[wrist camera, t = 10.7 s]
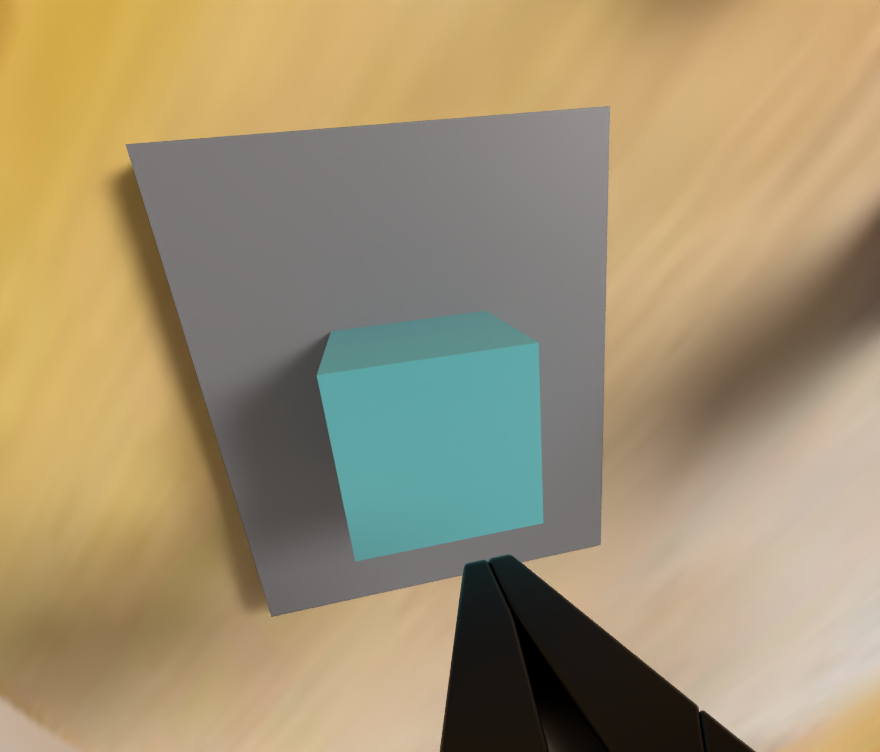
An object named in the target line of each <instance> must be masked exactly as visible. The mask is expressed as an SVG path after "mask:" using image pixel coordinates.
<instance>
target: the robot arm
mask: <svg viewBox="0 0 880 752" xmlns="http://www.w3.org/2000/svg"><path fill="white" fill-rule="evenodd" d="M440 752H755V751H754V750H753V749H752V748H750V747H749V746H748V745H746V744H745V743H744V742H743V741H741V740H740V739H739V738H737V737H736V736H735V735H734V734H732V733H731V732H730V731H729V730H727V729H726V728H725V727H724V726H723V725H721V724H720V723H719V722H718V721H716V720H715V719H714V718H713V717H711V716H710V715H709V714H708V713H706V712H705V711H703V710H702V711H700V712H699V708H698V706H697V705H696V704H695V703H694V702H693V701H691V700H690V699H689V698H688V697H686V696H685V695H684V694H683V693H681V692H680V691H679V690H678V689H677V688H675V687H674V686H673V685H672V684H670V683H669V682H668V681H667V680H665V679H664V678H663V677H662V676H660V675H659V674H658V673H657V672H656V671H654V670H653V669H652V668H651V667H649V666H648V665H647V664H646V663H644V662H643V661H642V660H641V659H640V658H638V657H637V656H636V655H635V654H633V653H632V652H631V651H630V650H628V649H627V648H626V647H625V646H623V645H622V644H621V643H620V642H619V641H617V640H616V639H615V638H614V637H612V636H611V635H610V634H609V633H607V632H606V631H605V630H604V629H602V628H601V627H600V626H599V625H598V624H596V623H595V622H594V621H593V620H591V619H590V618H589V617H588V616H586V615H585V614H584V613H583V612H582V611H580V610H579V609H578V608H577V607H575V606H574V605H573V604H572V603H570V602H569V601H568V600H567V599H565V598H564V597H563V596H562V595H561V594H559V593H558V592H557V591H556V590H554V589H553V588H552V587H551V586H549V585H548V584H547V583H546V582H545V581H543V580H542V579H541V578H540V577H538V576H537V575H536V574H535V573H533V572H532V571H531V570H530V569H528V568H527V567H526V566H525V565H524V564H522V563H521V562H520V561H519V560H517V559H516V558H515V557H514V556H512V555H509V554H507V555H502V556H498V557H493V558H490V559H489V560H488V562H487V561H486V560H479V561H474V562H470V563H466V564H465V565H464V569H463V576H462V584H461V592H460V599H459V607H458V615H457V622H456V630H455V638H454V646H453V653H452V661H451V669H450V676H449V684H448V692H447V700H446V707H445V715H444V723H443V730H442V738H441V746H440Z"/></svg>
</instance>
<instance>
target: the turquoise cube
mask: <svg viewBox="0 0 880 752" xmlns="http://www.w3.org/2000/svg"><path fill="white" fill-rule="evenodd" d="M317 379H318V384H319V389H320V394H321V398H322V403H323V408H324V413H325V418H326V423H327V427H328V432H329V437H330V442H331V447H332V452H333V456H334V461H335V466H336V471H337V476H338V481H339V485H340V490H341V495H342V500H343V505H344V510H345V514H346V519H347V524H348V529H349V534H350V539H351V543H352V548H353V553H354V558H355V562H356V561H361V560H366V559H371V558H375V557H380V556H385V555H390V554H395V553H400V552H405V551H410V550H415V549H419V548H424V547H429V546H434V545H439V544H444V543H449V542H454V541H459V540H464V539H468V538H473V537H478V536H483V535H488V534H493V533H498V532H503V531H508V530H512V529H517V528H522V527H527V526H532V525H537V524H542V523H543V487H542V450H541V412H540V375H539V342H537V341H535V340H534V339H532V338H530V337H529V336H527V335H525V334H524V333H522V332H520V331H519V330H517V329H515V328H514V327H512V326H511V325H509V324H507V323H506V322H504V321H502V320H501V319H499V318H497V317H496V316H494V315H492V314H491V313H489V312H487V311H480V312H472V313H465V314H457V315H450V316H443V317H435V318H428V319H420V320H413V321H405V322H398V323H391V324H383V325H376V326H368V327H361V328H353V329H346V330H339V331H331V333H330V336H329V339H328V342H327V345H326V348H325V351H324V354H323V357H322V360H321V363H320V367H319V370H318V373H317Z"/></svg>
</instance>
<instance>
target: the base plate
mask: <svg viewBox="0 0 880 752" xmlns="http://www.w3.org/2000/svg"><path fill="white" fill-rule="evenodd" d="M609 124H610V106H605V107H592V108H580V109H567V110H554V111H542V112H529V113H517V114H504V115H491V116H479V117H466V118H453V119H441V120H428V121H415V122H403V123H390V124H377V125H365V126H352V127H339V128H327V129H314V130H301V131H289V132H276V133H264V134H251V135H238V136H226V137H213V138H200V139H188V140H175V141H162V142H150V143H137V144H126V147H127V150H128V153H129V157H130V160H131V163H132V166H133V170H134V173H135V176H136V179H137V183H138V186H139V189H140V192H141V196H142V199H143V202H144V205H145V209H146V212H147V215H148V218H149V221H150V225H151V228H152V231H153V234H154V238H155V241H156V244H157V247H158V251H159V254H160V257H161V260H162V264H163V267H164V270H165V273H166V277H167V280H168V283H169V286H170V289H171V293H172V296H173V299H174V302H175V306H176V309H177V312H178V315H179V319H180V322H181V325H182V328H183V332H184V335H185V338H186V341H187V345H188V348H189V351H190V354H191V358H192V361H193V364H194V367H195V370H196V374H197V377H198V380H199V383H200V387H201V390H202V393H203V396H204V400H205V403H206V406H207V409H208V413H209V416H210V419H211V422H212V426H213V429H214V432H215V435H216V438H217V442H218V445H219V448H220V451H221V455H222V458H223V461H224V464H225V468H226V471H227V474H228V477H229V481H230V484H231V487H232V490H233V494H234V497H235V500H236V503H237V507H238V510H239V513H240V516H241V519H242V523H243V526H244V529H245V532H246V536H247V539H248V542H249V545H250V549H251V552H252V555H253V558H254V562H255V565H256V568H257V571H258V575H259V578H260V581H261V584H262V588H263V591H264V594H265V597H266V600H267V604H268V607H269V610H270V613H271V617H273V616H278V615H282V614H287V613H291V612H296V611H301V610H305V609H310V608H314V607H319V606H323V605H328V604H333V603H337V602H342V601H346V600H351V599H355V598H360V597H365V596H369V595H374V594H378V593H383V592H387V591H392V590H397V589H401V588H406V587H410V586H415V585H419V584H424V583H429V582H433V581H438V580H442V579H447V578H452V577H456V576H461V575H463V569H464V565H465V564H466V563H470V562H474V561H479V560H486V561H487V562H488V560H489V559H490V558H493V557H498V556H502V555H507V554H509V555H512V556H514V557H515V558H516V559H517V560H519V561H520V562H525V561H529V560H534V559H538V558H543V557H548V556H552V555H557V554H561V553H566V552H570V551H575V550H580V549H584V548H589V547H593V546H598V545H600V543H601V496H602V450H603V403H604V357H605V310H606V264H607V217H608V170H609ZM480 311H487V312H489V313H491V314H492V315H494V316H496V317H497V318H499V319H501V320H502V321H504V322H506V323H507V324H509V325H511V326H512V327H514V328H515V329H517V330H519V331H520V332H522V333H524V334H525V335H527V336H529V337H530V338H532V339H534V340H535V341H537V342H539V375H540V412H541V450H542V487H543V523H542V524H537V525H532V526H527V527H522V528H517V529H512V530H508V531H503V532H498V533H493V534H488V535H483V536H478V537H473V538H468V539H464V540H459V541H454V542H449V543H444V544H439V545H434V546H429V547H424V548H419V549H415V550H410V551H405V552H400V553H395V554H390V555H385V556H380V557H375V558H371V559H366V560H361V561H356V562H355V558H354V553H353V548H352V543H351V539H350V534H349V529H348V524H347V519H346V514H345V510H344V505H343V500H342V495H341V490H340V485H339V481H338V476H337V471H336V466H335V461H334V456H333V452H332V447H331V442H330V437H329V432H328V427H327V423H326V418H325V413H324V408H323V403H322V398H321V394H320V389H319V384H318V379H317V373H318V370H319V367H320V363H321V360H322V357H323V354H324V351H325V348H326V345H327V342H328V339H329V336H330V333H331V331H339V330H346V329H353V328H361V327H368V326H376V325H383V324H391V323H398V322H405V321H413V320H420V319H428V318H435V317H443V316H450V315H457V314H465V313H472V312H480Z"/></svg>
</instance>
